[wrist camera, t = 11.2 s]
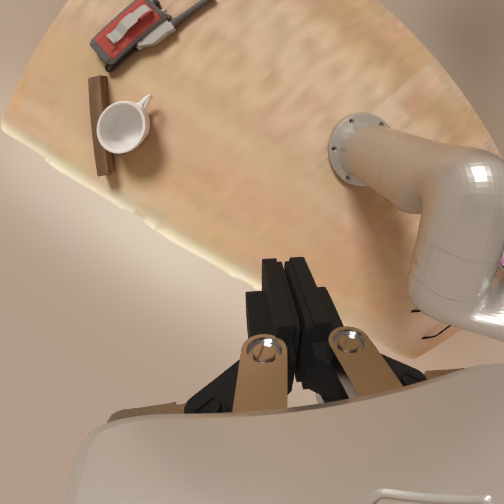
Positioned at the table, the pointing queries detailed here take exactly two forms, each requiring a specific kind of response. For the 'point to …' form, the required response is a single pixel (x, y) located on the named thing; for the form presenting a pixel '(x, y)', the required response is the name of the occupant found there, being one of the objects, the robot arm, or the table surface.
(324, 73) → the table surface
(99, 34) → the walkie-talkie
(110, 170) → the stop bar
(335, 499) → the robot arm
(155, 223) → the table surface
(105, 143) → the teacup
